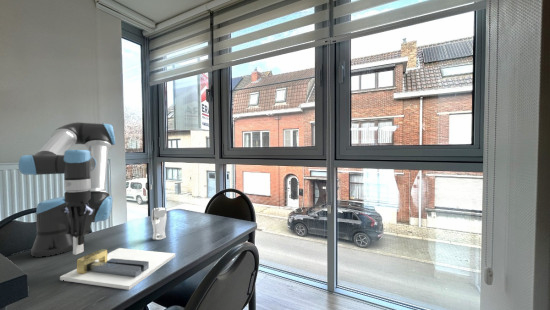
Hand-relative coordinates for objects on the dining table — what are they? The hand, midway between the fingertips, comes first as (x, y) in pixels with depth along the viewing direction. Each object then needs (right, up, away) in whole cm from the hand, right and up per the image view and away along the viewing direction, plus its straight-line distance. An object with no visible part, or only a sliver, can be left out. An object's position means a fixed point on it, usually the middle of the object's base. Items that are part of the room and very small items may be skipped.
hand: (78, 252), depth 87 cm
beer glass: (+15, -6, +32) cm, 35 cm away
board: (+16, -6, +2) cm, 17 cm away
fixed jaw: (+15, -5, -4) cm, 16 cm away
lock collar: (+6, -5, -1) cm, 8 cm away
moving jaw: (+20, -5, -1) cm, 20 cm away
